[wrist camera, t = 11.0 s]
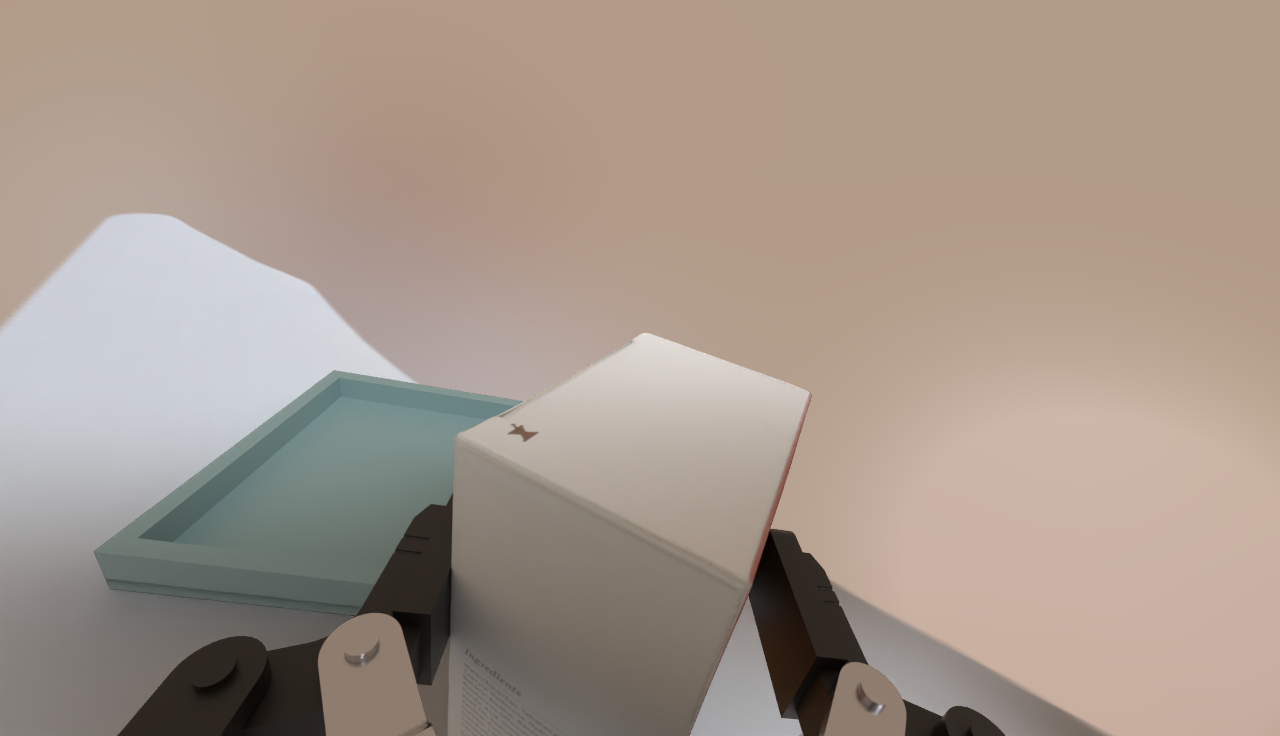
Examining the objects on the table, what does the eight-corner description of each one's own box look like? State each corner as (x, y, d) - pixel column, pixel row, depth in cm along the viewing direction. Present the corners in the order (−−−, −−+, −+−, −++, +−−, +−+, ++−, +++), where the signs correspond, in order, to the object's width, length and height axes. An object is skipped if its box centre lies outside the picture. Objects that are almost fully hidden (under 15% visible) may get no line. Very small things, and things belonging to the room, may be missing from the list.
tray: (542, 428, 34) (545, 405, 33) (480, 629, 20) (482, 597, 19) (336, 396, 32) (333, 370, 31) (109, 588, 18) (93, 551, 17)
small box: (619, 910, 10) (754, 599, 6) (440, 755, 12) (441, 431, 8) (721, 630, 17) (820, 388, 13) (596, 558, 19) (644, 326, 15)
